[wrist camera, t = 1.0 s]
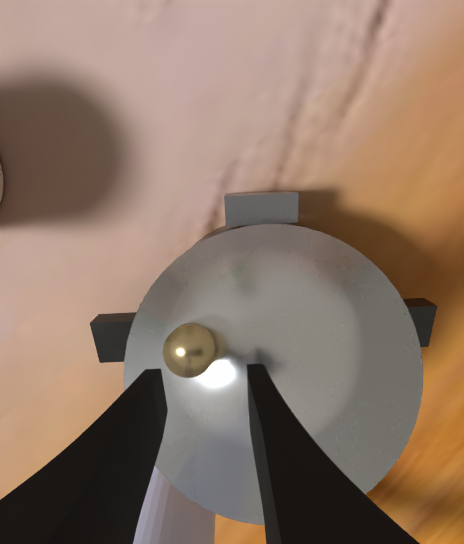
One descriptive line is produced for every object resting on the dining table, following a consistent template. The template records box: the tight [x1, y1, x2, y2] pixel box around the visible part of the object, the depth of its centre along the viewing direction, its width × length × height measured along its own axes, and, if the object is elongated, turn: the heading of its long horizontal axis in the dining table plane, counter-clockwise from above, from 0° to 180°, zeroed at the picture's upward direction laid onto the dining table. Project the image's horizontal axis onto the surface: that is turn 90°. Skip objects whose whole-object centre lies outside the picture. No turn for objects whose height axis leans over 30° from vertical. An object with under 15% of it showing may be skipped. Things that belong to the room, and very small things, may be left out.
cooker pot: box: [90, 191, 437, 363], centre depth 18 cm, size 16×22×4 cm
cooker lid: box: [124, 224, 423, 525], centre depth 13 cm, size 15×15×2 cm
